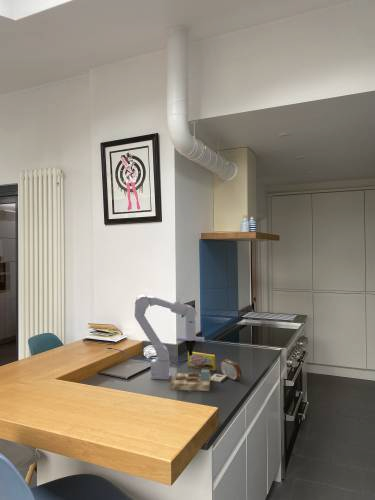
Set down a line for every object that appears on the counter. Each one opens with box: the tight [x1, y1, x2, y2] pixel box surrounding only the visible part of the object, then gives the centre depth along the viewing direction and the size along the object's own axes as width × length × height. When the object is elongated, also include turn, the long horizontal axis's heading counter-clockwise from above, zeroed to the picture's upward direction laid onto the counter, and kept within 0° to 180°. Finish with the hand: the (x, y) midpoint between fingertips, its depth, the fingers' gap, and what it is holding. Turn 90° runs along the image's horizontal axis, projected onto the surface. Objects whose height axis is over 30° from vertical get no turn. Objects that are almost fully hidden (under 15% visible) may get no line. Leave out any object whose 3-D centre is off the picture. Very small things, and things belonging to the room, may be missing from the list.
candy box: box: [187, 351, 216, 371], centre depth 207 cm, size 16×2×8 cm, turn 62°
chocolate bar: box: [210, 368, 229, 384], centre depth 194 cm, size 9×1×18 cm
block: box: [200, 368, 211, 381], centre depth 180 cm, size 4×4×4 cm
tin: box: [220, 358, 243, 381], centre depth 191 cm, size 15×3×8 cm, turn 30°
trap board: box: [170, 372, 212, 392], centre depth 181 cm, size 18×14×4 cm
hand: (190, 355), depth 195 cm, fingers closed
